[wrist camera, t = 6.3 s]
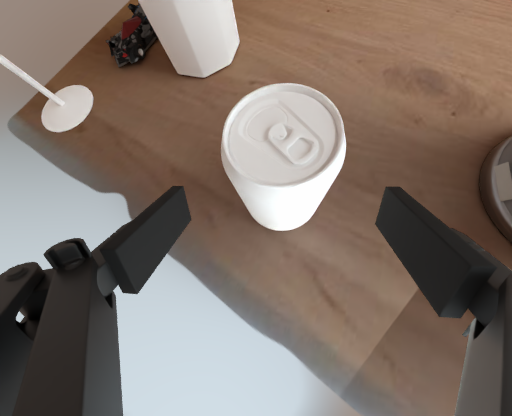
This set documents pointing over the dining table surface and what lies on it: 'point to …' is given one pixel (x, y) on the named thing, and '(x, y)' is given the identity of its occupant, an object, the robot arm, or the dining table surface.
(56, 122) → the wineglass
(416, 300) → the dining table surface
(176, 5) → the cup
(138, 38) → the toy car
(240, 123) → the beverage can
